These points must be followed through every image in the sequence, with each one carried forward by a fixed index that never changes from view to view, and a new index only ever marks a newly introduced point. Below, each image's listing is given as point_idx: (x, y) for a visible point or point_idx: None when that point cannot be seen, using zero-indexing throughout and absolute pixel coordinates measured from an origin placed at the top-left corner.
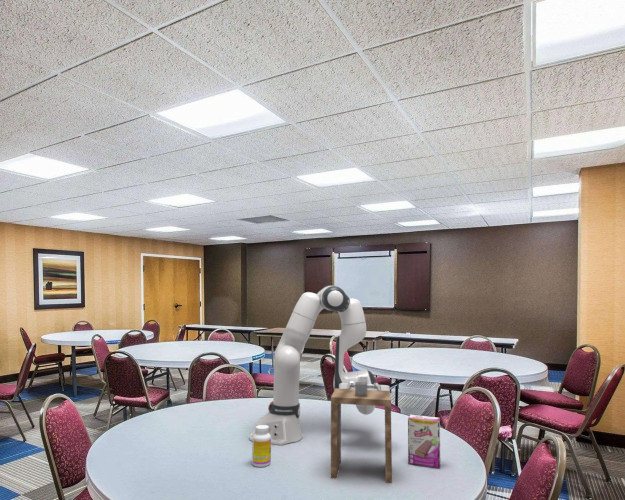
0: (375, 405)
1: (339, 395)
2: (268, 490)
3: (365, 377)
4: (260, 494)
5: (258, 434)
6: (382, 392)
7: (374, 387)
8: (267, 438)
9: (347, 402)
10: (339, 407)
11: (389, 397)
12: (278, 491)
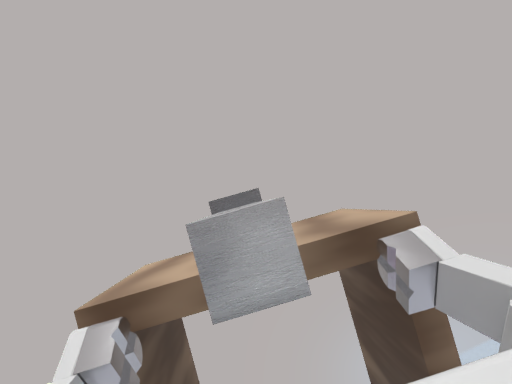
0: None
1: (325, 216)
2: (489, 354)
3: (212, 216)
4: (484, 342)
5: None
6: (140, 283)
7: (134, 367)
8: None
9: None
10: (373, 289)
11: (137, 271)
12: (467, 361)
